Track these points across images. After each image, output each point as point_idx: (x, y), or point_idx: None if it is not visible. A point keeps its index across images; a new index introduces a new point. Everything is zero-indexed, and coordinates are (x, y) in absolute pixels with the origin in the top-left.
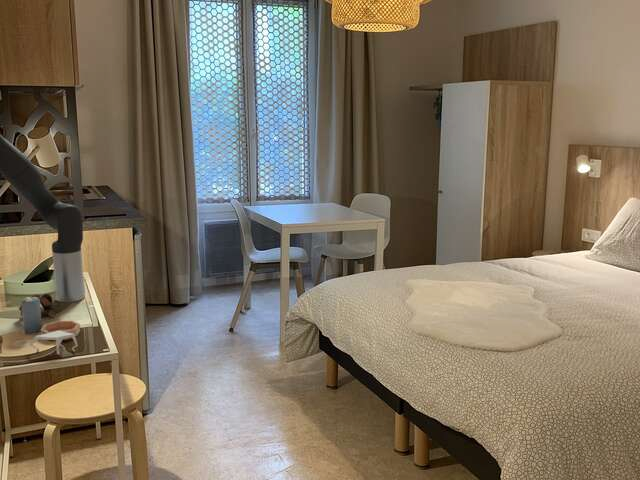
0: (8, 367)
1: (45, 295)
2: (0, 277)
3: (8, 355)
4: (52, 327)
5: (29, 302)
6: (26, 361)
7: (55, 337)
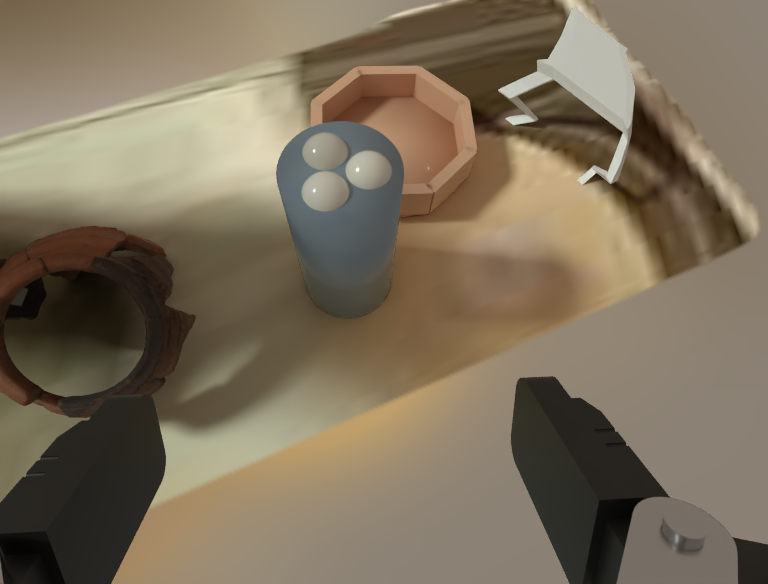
0: (757, 227)
1: None
2: (112, 397)
3: (648, 274)
4: None
5: (400, 159)
6: (686, 186)
7: (626, 55)
